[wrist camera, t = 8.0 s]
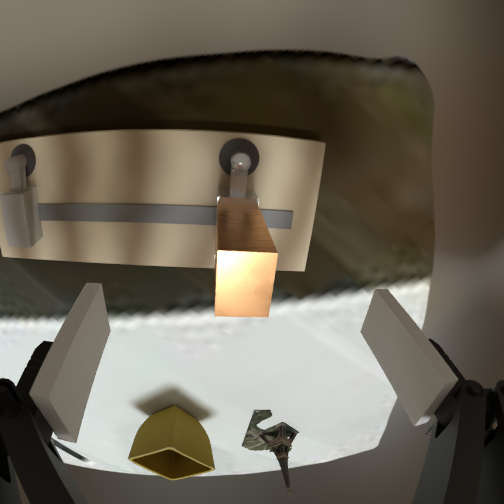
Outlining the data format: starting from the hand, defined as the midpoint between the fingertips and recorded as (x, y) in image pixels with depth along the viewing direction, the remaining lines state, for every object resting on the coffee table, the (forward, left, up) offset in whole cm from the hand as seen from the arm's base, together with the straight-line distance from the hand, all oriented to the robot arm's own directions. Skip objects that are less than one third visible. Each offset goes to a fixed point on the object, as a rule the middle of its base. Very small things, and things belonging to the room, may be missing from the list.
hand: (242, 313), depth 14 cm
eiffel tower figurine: (+10, -37, -16) cm, 42 cm away
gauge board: (-9, +1, -15) cm, 18 cm away
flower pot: (-7, -32, -16) cm, 36 cm away
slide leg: (0, +2, -13) cm, 13 cm away
